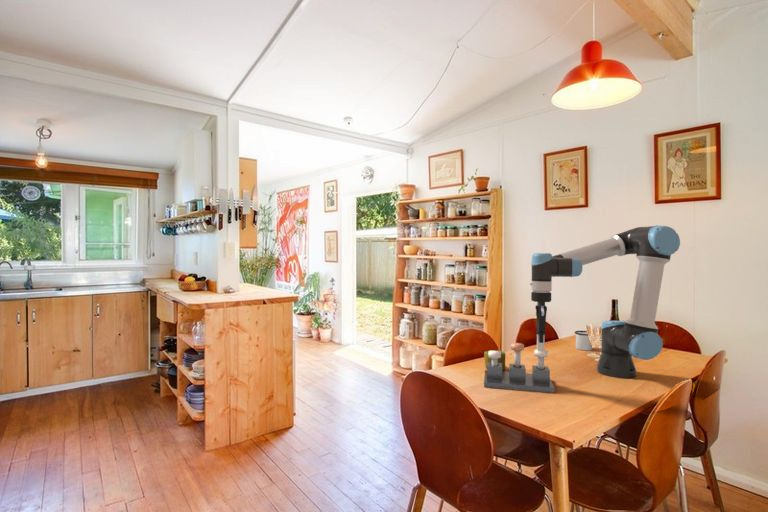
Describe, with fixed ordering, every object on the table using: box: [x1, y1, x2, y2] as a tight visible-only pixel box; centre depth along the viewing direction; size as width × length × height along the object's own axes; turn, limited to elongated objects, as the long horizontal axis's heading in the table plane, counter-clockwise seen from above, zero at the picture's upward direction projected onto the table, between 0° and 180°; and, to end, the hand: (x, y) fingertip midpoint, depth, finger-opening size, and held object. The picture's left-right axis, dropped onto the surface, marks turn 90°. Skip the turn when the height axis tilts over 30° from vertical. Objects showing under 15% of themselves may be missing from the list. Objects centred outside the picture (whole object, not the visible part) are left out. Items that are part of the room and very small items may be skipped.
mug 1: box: [483, 349, 506, 371], centre depth 185 cm, size 12×10×10 cm
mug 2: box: [574, 330, 593, 352], centre depth 221 cm, size 12×10×9 cm
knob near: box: [533, 348, 549, 369], centre depth 163 cm, size 5×5×10 cm
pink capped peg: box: [510, 342, 525, 368], centre depth 165 cm, size 5×5×10 cm
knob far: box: [488, 350, 501, 366], centre depth 167 cm, size 5×5×10 cm
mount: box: [483, 362, 555, 394], centre depth 165 cm, size 26×16×7 cm, turn 75°
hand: (540, 350), depth 163 cm, fingers closed
